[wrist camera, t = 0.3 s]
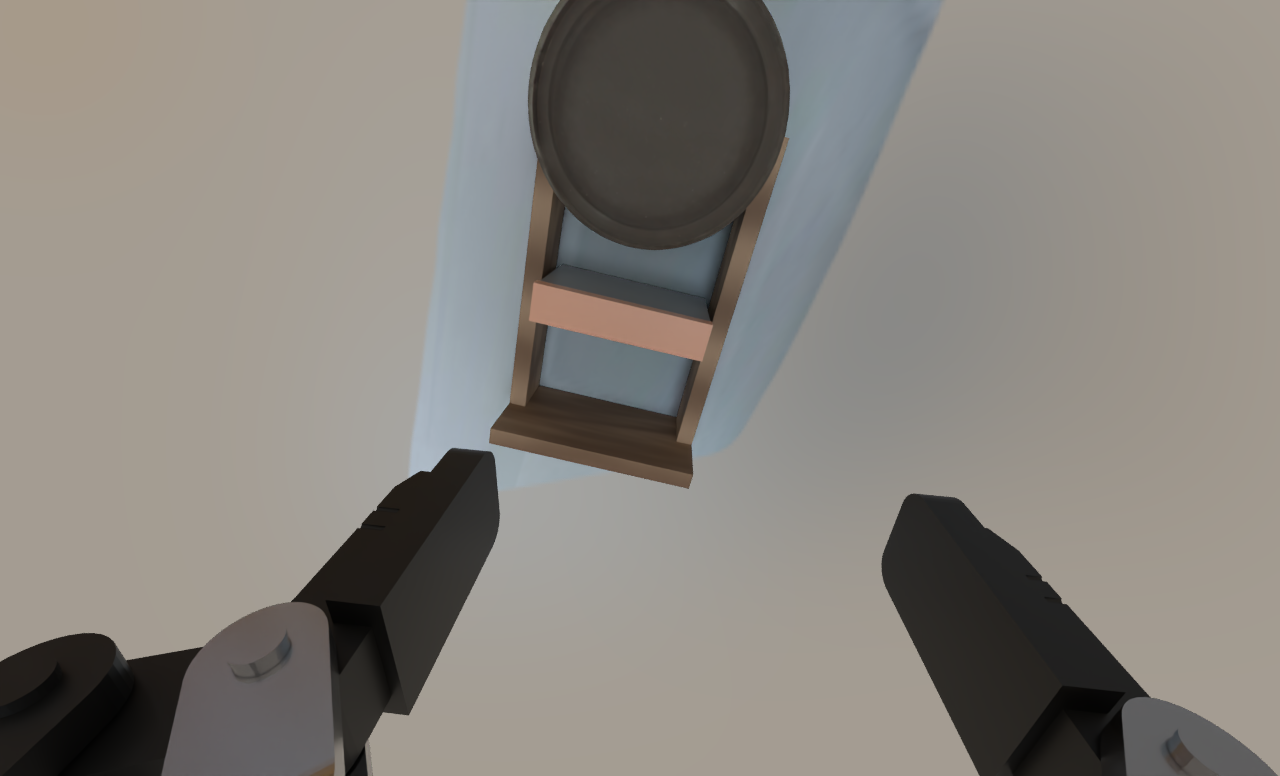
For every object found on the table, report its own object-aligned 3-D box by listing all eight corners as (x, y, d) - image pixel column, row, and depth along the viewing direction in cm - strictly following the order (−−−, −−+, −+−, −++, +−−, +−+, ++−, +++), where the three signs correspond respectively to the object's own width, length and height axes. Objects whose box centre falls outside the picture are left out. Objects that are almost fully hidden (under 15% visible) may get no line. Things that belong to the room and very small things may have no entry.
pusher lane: (562, 89, 30) (526, 60, 23) (775, 143, 30) (807, 131, 23) (523, 394, 39) (489, 442, 32) (686, 432, 40) (688, 488, 33)
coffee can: (743, 40, 28) (799, -78, 15) (741, 217, 32) (783, 242, 20) (579, 57, 29) (503, -39, 16) (597, 228, 33) (548, 258, 21)
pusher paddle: (563, 261, 34) (533, 282, 27) (705, 295, 35) (713, 325, 28) (558, 292, 35) (528, 320, 28) (696, 325, 36) (702, 361, 29)
